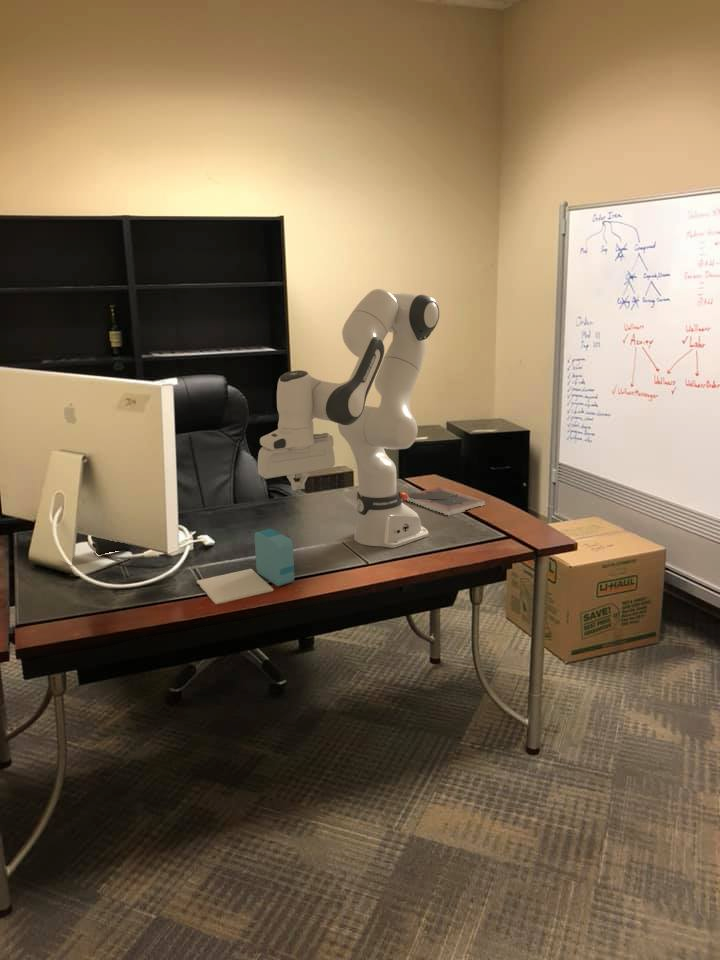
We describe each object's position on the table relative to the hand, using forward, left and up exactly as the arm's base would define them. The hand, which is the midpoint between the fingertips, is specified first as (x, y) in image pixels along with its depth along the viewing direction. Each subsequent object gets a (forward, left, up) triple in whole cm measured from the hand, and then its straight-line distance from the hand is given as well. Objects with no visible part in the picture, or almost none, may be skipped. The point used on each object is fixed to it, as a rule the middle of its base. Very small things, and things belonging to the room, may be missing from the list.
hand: (298, 489), depth 190 cm
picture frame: (-66, -28, -24) cm, 76 cm away
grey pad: (+18, -1, -23) cm, 29 cm away
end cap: (+40, -41, -23) cm, 62 cm away
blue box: (+7, 0, -23) cm, 24 cm away
